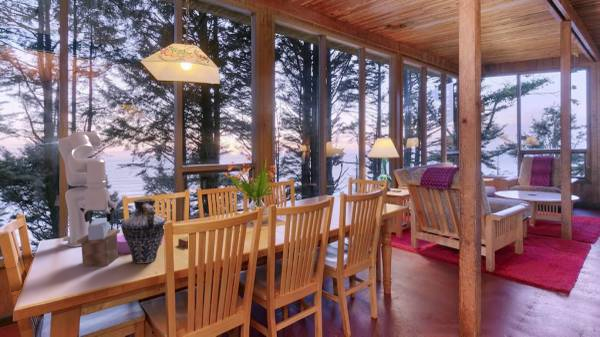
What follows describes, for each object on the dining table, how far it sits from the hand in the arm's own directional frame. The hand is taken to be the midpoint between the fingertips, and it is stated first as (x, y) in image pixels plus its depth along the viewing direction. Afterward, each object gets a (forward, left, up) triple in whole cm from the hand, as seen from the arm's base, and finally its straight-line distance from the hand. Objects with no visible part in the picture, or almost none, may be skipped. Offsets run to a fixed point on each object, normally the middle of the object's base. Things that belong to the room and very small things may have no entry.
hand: (98, 221), depth 160 cm
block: (0, 0, -6) cm, 6 cm away
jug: (+21, 0, -20) cm, 29 cm away
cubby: (0, 0, -20) cm, 20 cm away
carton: (+39, +25, -20) cm, 51 cm away
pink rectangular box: (+10, +21, -20) cm, 31 cm away
